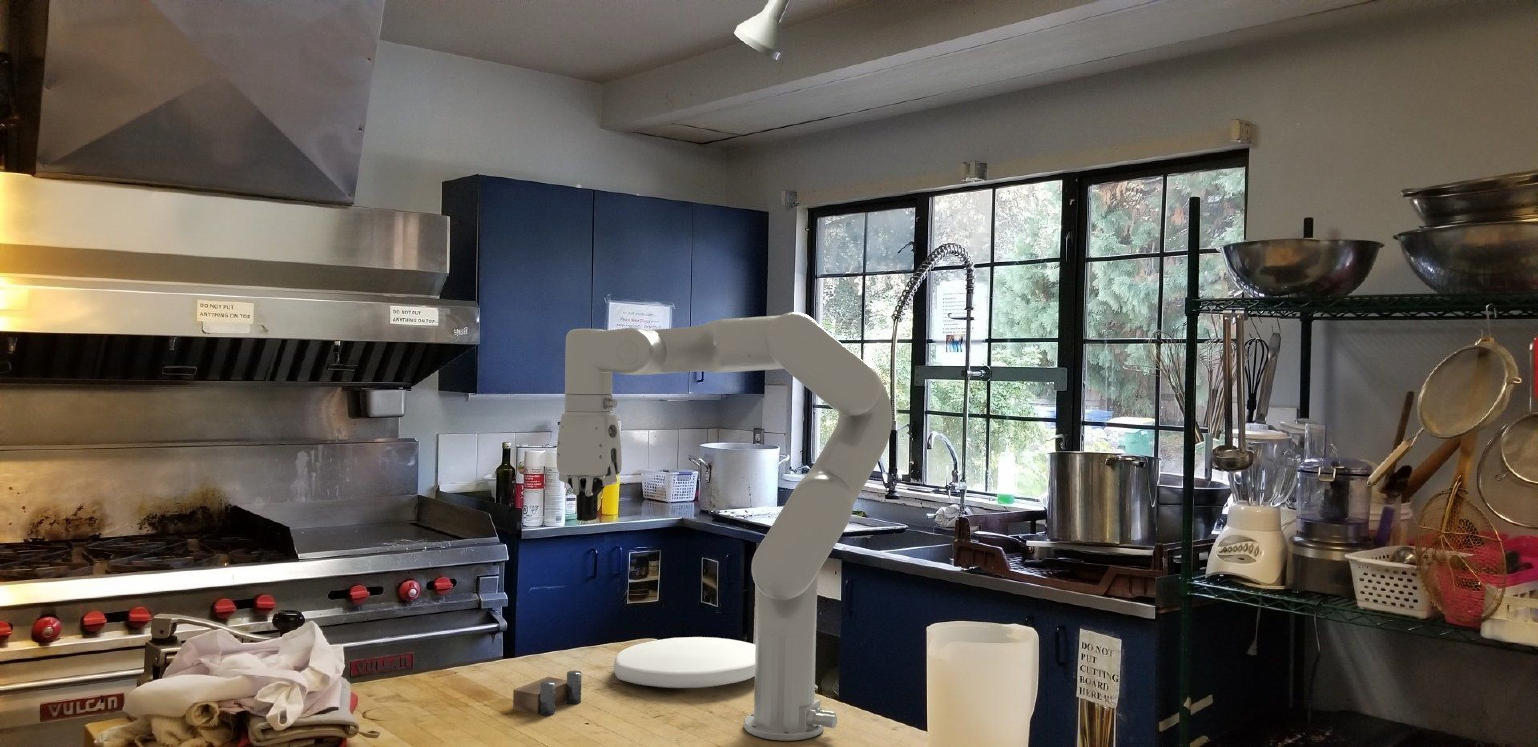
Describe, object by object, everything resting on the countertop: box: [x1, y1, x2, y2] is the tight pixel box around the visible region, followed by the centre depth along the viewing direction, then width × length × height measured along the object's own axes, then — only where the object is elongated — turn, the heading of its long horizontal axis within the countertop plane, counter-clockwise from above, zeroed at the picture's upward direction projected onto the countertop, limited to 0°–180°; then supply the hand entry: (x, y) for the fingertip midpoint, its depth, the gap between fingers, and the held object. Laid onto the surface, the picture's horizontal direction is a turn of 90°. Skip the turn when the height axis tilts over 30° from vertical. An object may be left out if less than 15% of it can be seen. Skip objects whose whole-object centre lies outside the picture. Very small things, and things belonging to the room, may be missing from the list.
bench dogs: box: [539, 670, 582, 717], centre depth 181 cm, size 2×9×5 cm, turn 153°
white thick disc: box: [613, 636, 755, 689], centre depth 201 cm, size 28×6×27 cm
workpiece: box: [512, 676, 567, 715], centre depth 183 cm, size 5×9×4 cm, turn 153°
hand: (586, 519), depth 176 cm, fingers closed
